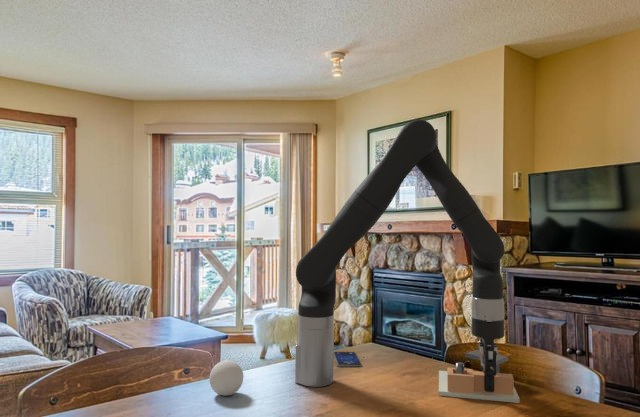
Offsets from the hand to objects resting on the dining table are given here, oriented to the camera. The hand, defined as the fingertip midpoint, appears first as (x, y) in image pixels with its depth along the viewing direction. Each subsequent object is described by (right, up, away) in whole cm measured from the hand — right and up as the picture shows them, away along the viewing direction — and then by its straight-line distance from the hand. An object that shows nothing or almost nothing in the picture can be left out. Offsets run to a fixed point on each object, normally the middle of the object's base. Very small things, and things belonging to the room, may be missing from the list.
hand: (488, 387), depth 115 cm
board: (-1, -2, +5) cm, 6 cm away
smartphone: (-32, -3, +29) cm, 44 cm away
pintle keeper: (+1, -2, +7) cm, 7 cm away
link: (-2, -1, 0) cm, 2 cm away
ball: (-63, -2, -1) cm, 63 cm away
